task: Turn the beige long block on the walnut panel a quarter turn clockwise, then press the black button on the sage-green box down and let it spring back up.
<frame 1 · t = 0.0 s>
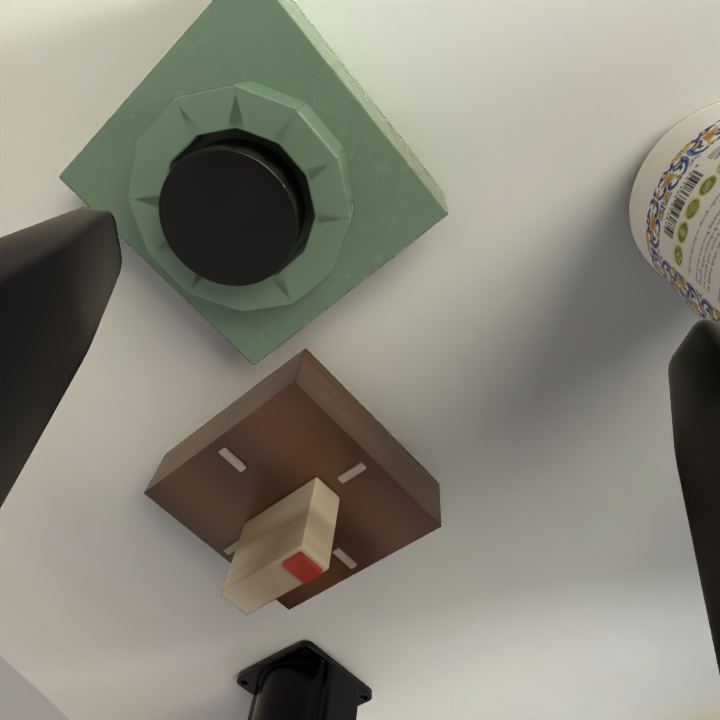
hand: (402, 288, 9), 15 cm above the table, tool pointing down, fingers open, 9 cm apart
start button: (234, 213, 20), point 5 cm above the table, slide at 0.2 cm
button box: (267, 178, 24), on the table
beige long block: (282, 546, 27), point 5 cm above the table, hinge at 0.0°
white upright cylinder: (718, 191, 23), on the table
dial panel: (301, 468, 31), on the table
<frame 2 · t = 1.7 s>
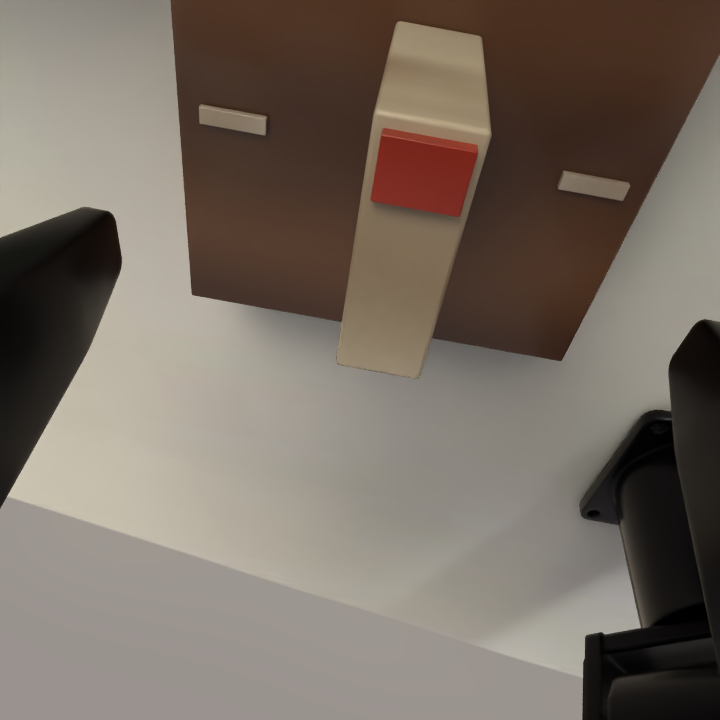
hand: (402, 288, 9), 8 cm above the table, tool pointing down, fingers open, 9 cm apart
beige long block: (407, 206, 11), point 5 cm above the table, hinge at 0.0°
dial panel: (420, 97, 15), on the table
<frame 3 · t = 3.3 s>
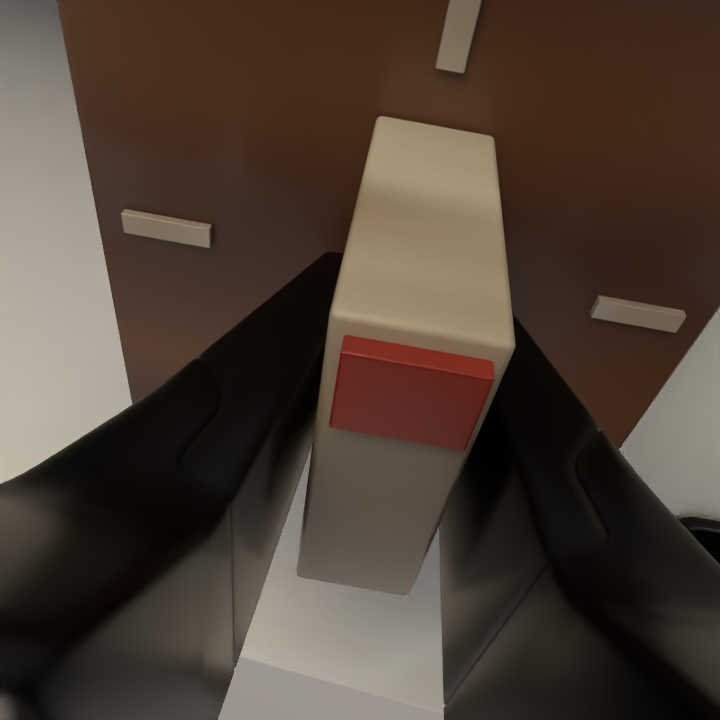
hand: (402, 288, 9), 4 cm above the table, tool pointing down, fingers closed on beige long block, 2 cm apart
beige long block: (392, 366, 8), point 5 cm above the table, hinge at 0.1°, touching gripper
dial panel: (413, 180, 12), on the table
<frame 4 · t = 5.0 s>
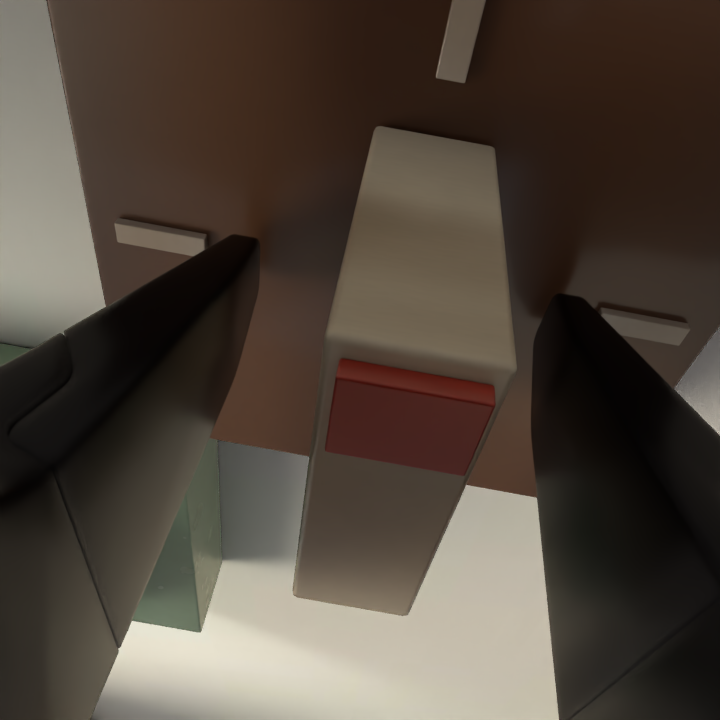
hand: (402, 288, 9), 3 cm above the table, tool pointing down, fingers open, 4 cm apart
button box: (66, 459, 20), on the table
beige long block: (391, 382, 8), point 5 cm above the table, hinge at -89.7°
dial panel: (412, 188, 12), on the table
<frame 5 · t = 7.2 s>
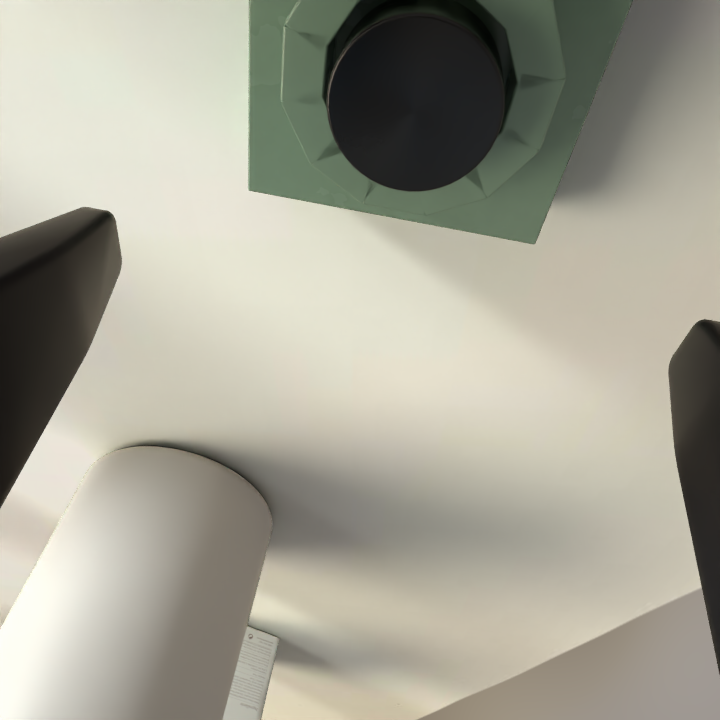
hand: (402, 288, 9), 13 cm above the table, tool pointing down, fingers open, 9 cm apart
small box: (233, 635, 57), on the table
cylinder vase: (184, 496, 41), on the table
start button: (415, 98, 16), point 5 cm above the table, slide at 0.2 cm
button box: (426, 36, 19), on the table
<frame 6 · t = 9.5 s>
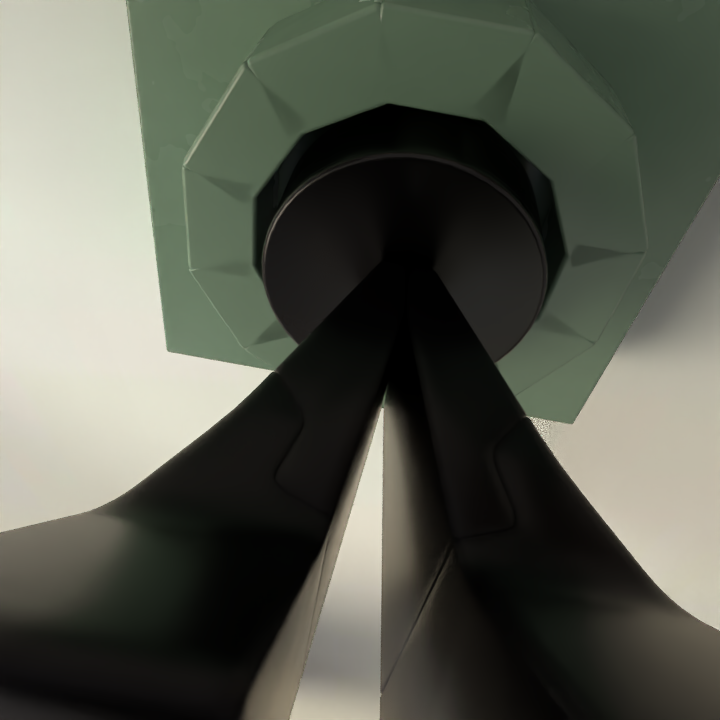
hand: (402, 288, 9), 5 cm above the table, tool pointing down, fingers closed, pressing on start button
start button: (404, 258, 10), point 4 cm above the table, slide at -0.5 cm, touching gripper
button box: (417, 144, 13), on the table
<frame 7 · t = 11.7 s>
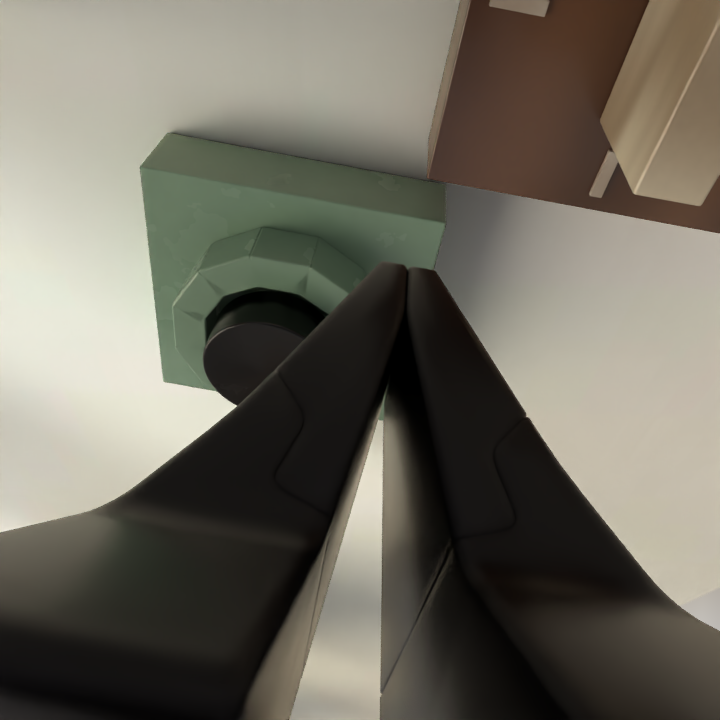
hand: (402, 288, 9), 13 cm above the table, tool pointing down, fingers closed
start button: (271, 355, 21), point 5 cm above the table, slide at 0.2 cm
button box: (297, 273, 25), on the table
beige long block: (696, 60, 13), point 5 cm above the table, hinge at -89.7°
dial panel: (640, 1, 17), on the table
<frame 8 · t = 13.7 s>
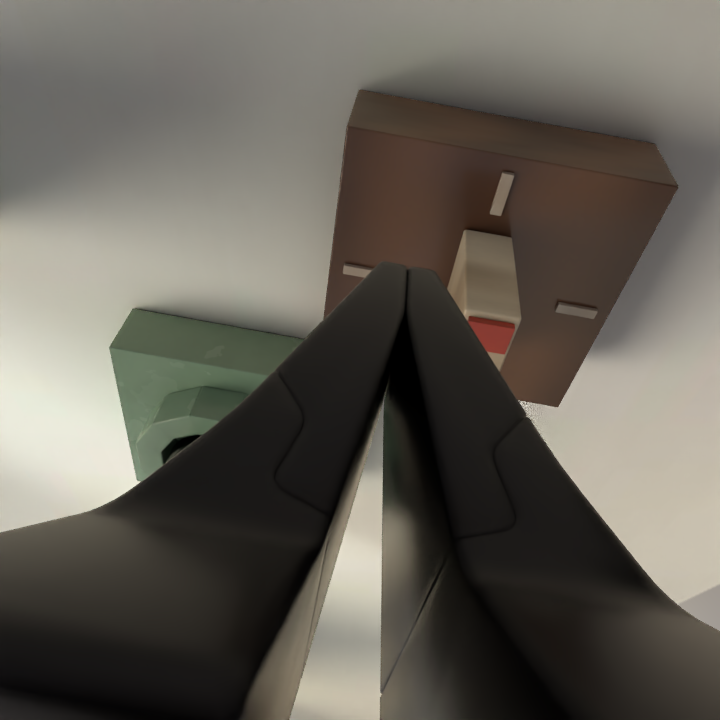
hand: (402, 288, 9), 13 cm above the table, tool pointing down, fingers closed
start button: (211, 479, 28), point 5 cm above the table, slide at 0.2 cm
button box: (240, 399, 32), on the table
beige long block: (470, 331, 20), point 5 cm above the table, hinge at -89.7°
dial panel: (468, 243, 24), on the table
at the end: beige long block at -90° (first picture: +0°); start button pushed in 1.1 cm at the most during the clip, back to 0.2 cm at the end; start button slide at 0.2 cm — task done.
